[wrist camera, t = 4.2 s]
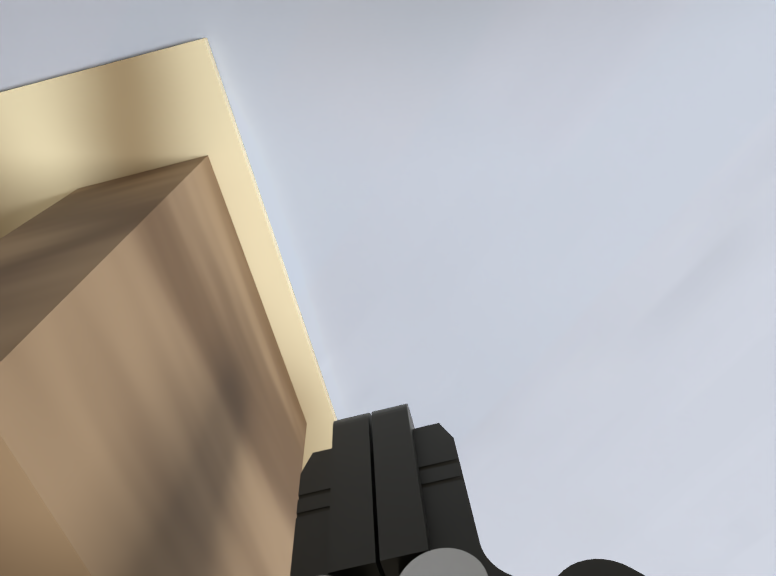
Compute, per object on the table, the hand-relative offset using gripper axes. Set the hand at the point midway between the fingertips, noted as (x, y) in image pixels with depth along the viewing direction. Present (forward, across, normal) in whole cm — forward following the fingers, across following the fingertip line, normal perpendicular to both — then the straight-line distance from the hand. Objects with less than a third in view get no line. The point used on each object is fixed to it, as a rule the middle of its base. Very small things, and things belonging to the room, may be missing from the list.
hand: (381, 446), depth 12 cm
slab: (+8, +6, 0) cm, 10 cm away
